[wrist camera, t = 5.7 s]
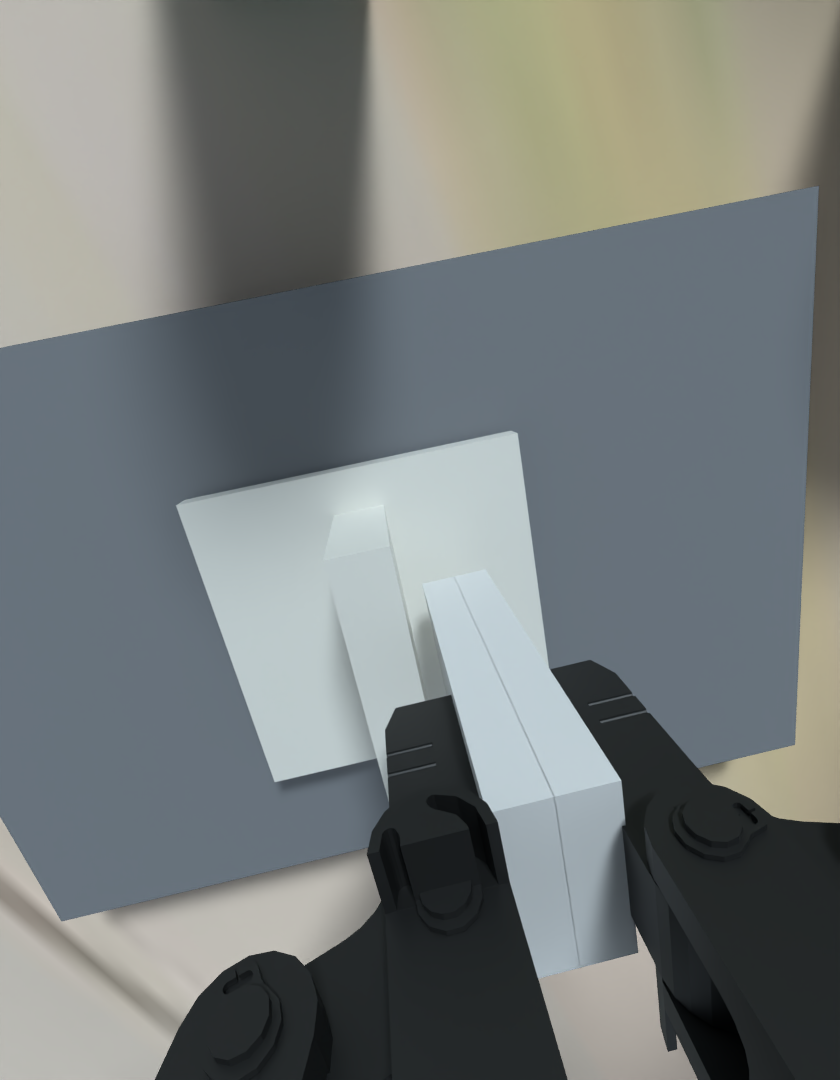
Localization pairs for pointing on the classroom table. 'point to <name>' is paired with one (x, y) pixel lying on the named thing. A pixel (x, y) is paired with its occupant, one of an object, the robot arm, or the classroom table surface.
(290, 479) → the plate
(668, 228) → the socket plate
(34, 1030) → the classroom table surface
